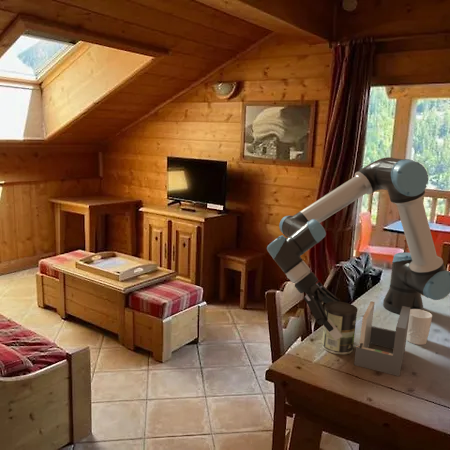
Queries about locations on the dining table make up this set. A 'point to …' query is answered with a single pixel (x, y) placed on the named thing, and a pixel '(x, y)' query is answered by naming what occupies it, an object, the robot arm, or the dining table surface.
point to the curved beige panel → (367, 326)
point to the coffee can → (340, 327)
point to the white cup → (418, 326)
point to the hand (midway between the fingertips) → (343, 329)
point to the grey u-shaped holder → (386, 339)
